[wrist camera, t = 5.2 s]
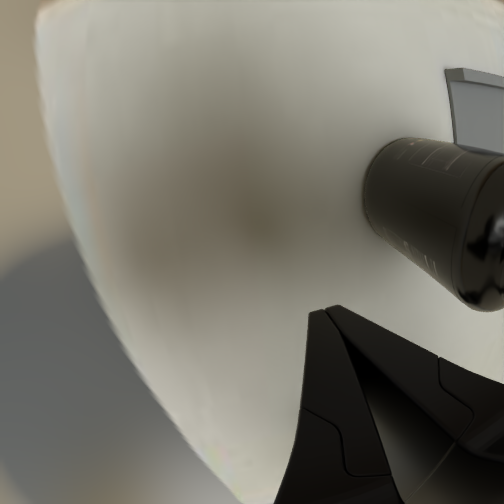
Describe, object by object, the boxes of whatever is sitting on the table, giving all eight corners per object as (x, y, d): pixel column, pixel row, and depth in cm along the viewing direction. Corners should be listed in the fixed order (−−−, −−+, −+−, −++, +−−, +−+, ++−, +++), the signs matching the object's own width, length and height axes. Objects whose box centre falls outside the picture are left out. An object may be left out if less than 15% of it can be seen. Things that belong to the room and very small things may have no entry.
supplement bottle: (448, 223, 17) (577, 311, 6) (370, 256, 18) (496, 394, 7) (437, 126, 14) (604, 168, 4) (348, 149, 15) (548, 218, 4)
